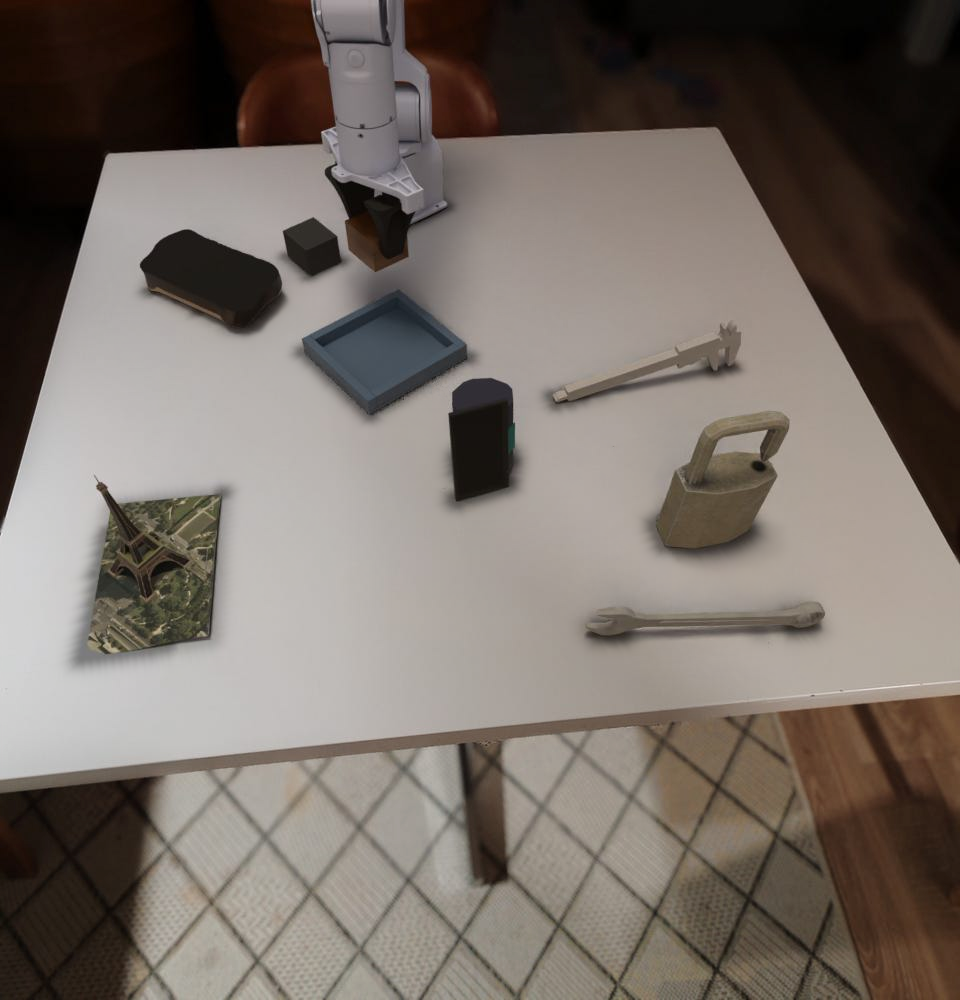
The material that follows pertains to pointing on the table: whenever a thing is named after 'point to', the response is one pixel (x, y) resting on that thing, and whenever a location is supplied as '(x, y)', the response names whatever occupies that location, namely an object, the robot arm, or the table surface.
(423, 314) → the holder
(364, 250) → the walnut block
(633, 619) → the combination wrench
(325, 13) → the robot arm
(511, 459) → the speaker
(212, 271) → the black sponge
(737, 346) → the caliper
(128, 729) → the table surface
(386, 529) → the table surface
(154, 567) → the eiffel tower figurine
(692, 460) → the padlock
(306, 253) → the black block
